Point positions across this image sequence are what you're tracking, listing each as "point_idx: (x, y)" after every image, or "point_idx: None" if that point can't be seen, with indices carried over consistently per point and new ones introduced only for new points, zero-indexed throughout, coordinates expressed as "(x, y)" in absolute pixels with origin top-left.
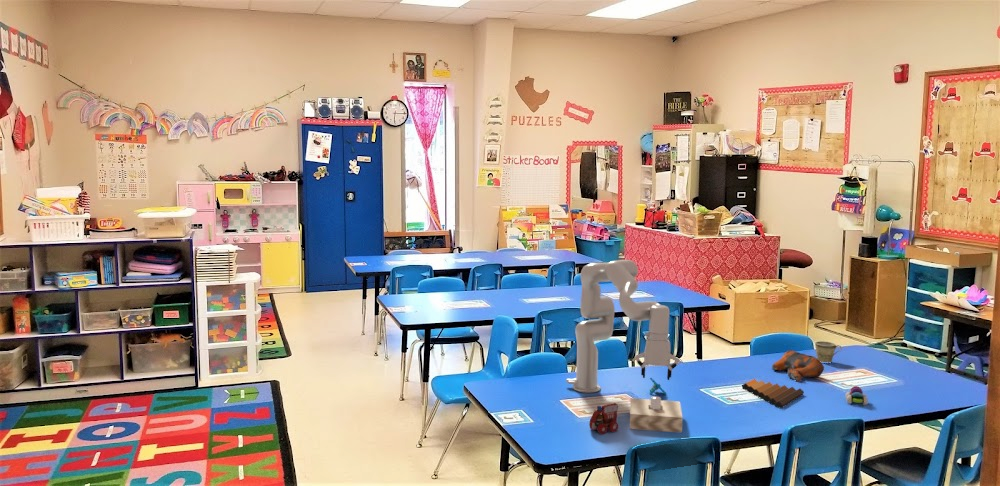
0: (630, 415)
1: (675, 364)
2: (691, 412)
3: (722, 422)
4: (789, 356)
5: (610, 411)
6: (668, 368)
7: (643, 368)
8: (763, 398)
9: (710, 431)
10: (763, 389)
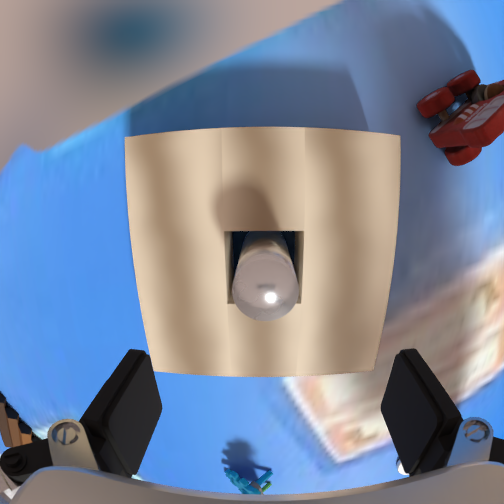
0: (394, 135)
1: (5, 464)
2: None
3: (44, 292)
4: None
5: (482, 112)
6: (108, 460)
7: (460, 416)
8: (30, 432)
9: (62, 193)
10: None
